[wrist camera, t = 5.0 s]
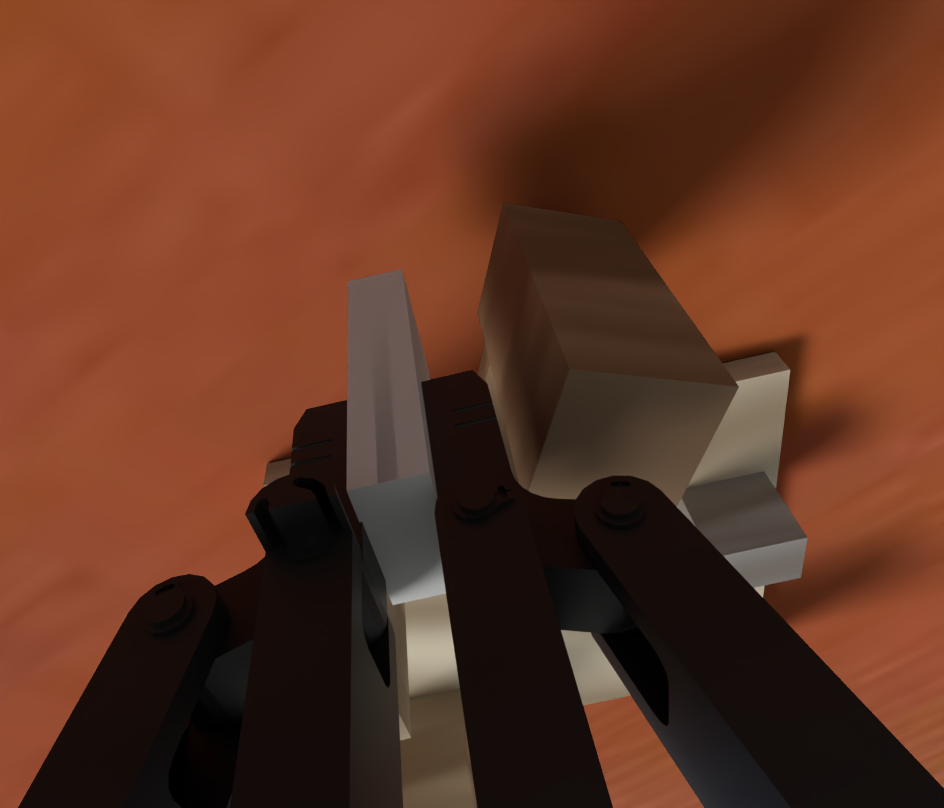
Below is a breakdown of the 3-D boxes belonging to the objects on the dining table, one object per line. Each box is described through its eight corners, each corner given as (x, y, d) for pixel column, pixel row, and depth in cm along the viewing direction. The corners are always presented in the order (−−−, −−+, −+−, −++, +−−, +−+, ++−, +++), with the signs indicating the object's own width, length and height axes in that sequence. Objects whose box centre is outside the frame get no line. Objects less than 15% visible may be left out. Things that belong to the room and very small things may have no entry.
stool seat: (267, 463, 22) (226, 696, 16) (775, 351, 22) (938, 545, 16) (398, 723, 33) (405, 926, 27) (745, 649, 32) (835, 838, 26)
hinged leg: (502, 202, 17) (569, 368, 11) (620, 220, 17) (739, 387, 12) (430, 513, 23) (450, 721, 17) (519, 518, 23) (565, 720, 18)
